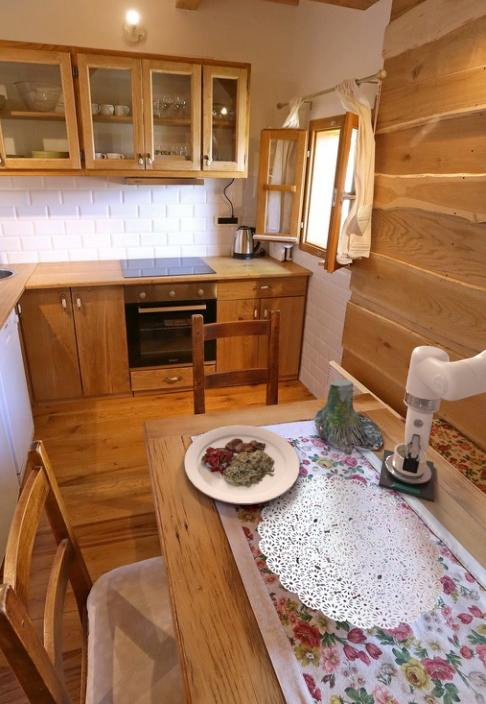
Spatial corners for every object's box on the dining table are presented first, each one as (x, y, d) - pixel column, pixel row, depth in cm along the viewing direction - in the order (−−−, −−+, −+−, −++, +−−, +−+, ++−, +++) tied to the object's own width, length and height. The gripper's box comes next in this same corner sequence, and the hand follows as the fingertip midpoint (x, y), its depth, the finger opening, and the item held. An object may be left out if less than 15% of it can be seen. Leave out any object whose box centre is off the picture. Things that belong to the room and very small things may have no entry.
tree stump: (346, 465, 108) (339, 401, 105) (302, 438, 126) (295, 383, 123) (397, 443, 114) (392, 383, 112) (349, 421, 133) (343, 368, 130)
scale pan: (430, 465, 104) (431, 460, 103) (430, 493, 95) (431, 487, 94) (386, 453, 108) (387, 449, 107) (383, 479, 99) (384, 474, 99)
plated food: (320, 493, 98) (322, 482, 96) (199, 522, 90) (199, 510, 89) (271, 423, 125) (271, 413, 123) (175, 440, 117) (174, 430, 116)
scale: (432, 468, 106) (433, 461, 105) (432, 506, 94) (434, 498, 93) (383, 455, 111) (384, 448, 110) (377, 489, 99) (379, 482, 98)
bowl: (424, 462, 103) (427, 448, 101) (423, 481, 96) (427, 466, 95) (393, 454, 106) (395, 440, 104) (391, 471, 99) (393, 457, 98)
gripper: (441, 422, 85) (426, 487, 91) (439, 385, 100) (427, 443, 106) (402, 413, 88) (391, 476, 94) (406, 378, 103) (396, 435, 109)
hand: (410, 458), depth 100 cm, fingers open, 9 cm apart
